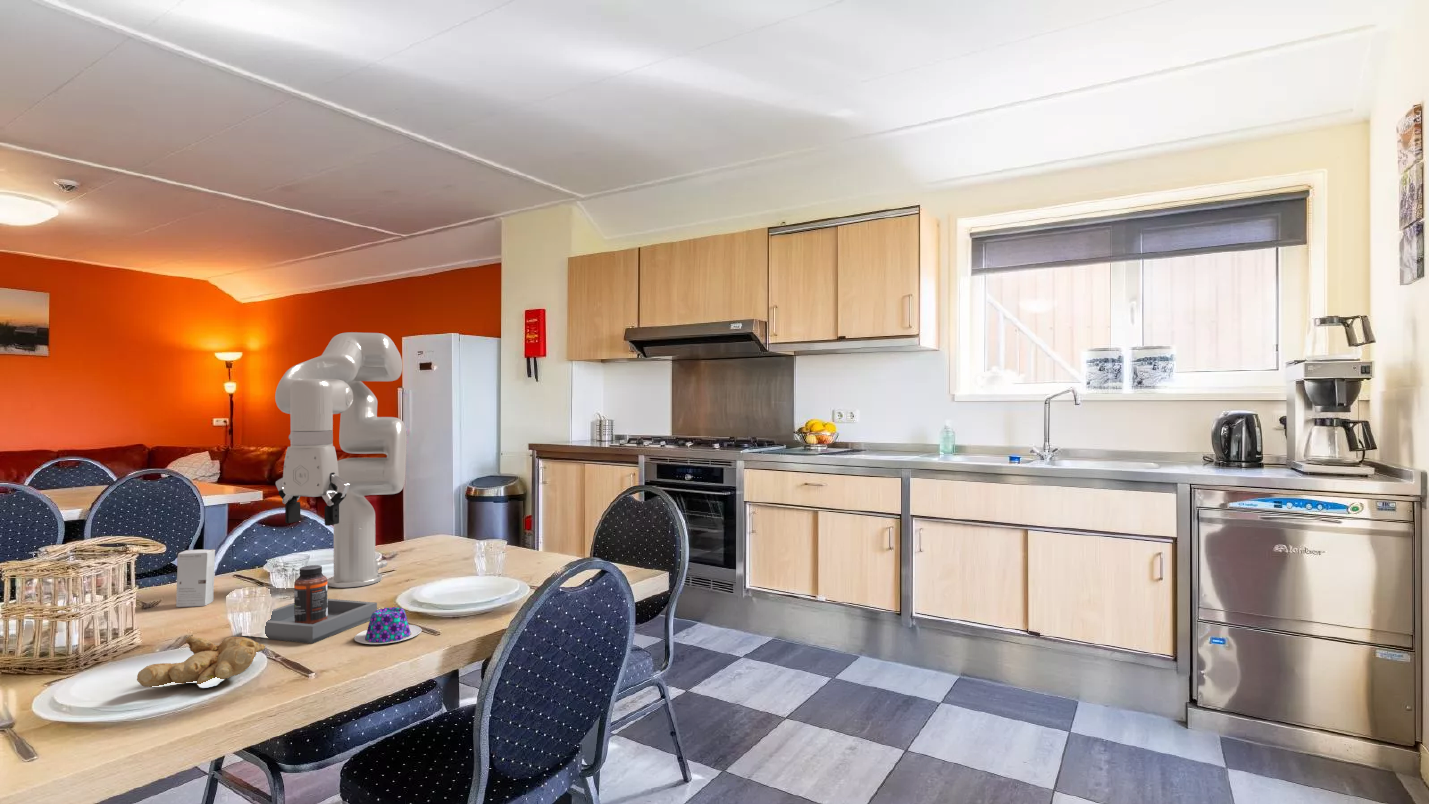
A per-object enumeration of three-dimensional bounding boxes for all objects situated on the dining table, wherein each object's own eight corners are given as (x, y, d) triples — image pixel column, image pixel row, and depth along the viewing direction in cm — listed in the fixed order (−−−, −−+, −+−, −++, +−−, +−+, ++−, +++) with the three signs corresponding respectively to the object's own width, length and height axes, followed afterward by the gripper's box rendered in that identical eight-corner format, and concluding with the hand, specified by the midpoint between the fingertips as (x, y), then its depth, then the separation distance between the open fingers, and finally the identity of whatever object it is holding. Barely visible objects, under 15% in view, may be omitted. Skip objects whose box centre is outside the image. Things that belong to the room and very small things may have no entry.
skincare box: (175, 608, 160) (175, 553, 160) (185, 602, 164) (185, 549, 164) (206, 606, 161) (206, 552, 161) (215, 600, 165) (215, 548, 165)
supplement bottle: (334, 618, 149) (334, 563, 149) (315, 627, 143) (315, 570, 143) (307, 617, 149) (307, 563, 149) (287, 626, 143) (287, 569, 143)
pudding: (373, 652, 131) (373, 623, 131) (342, 639, 138) (342, 612, 139) (433, 635, 141) (433, 608, 141) (401, 624, 148) (401, 599, 148)
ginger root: (292, 652, 127) (284, 611, 125) (235, 711, 111) (225, 665, 109) (204, 656, 127) (195, 615, 125) (135, 715, 111) (123, 669, 109)
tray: (311, 612, 156) (311, 597, 156) (376, 617, 152) (376, 602, 152) (241, 636, 140) (241, 619, 140) (312, 643, 135) (312, 626, 135)
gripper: (261, 440, 144) (262, 524, 145) (332, 441, 140) (333, 528, 140) (292, 438, 152) (293, 518, 152) (361, 439, 147) (361, 522, 147)
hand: (312, 523), depth 146 cm, fingers open, 9 cm apart
